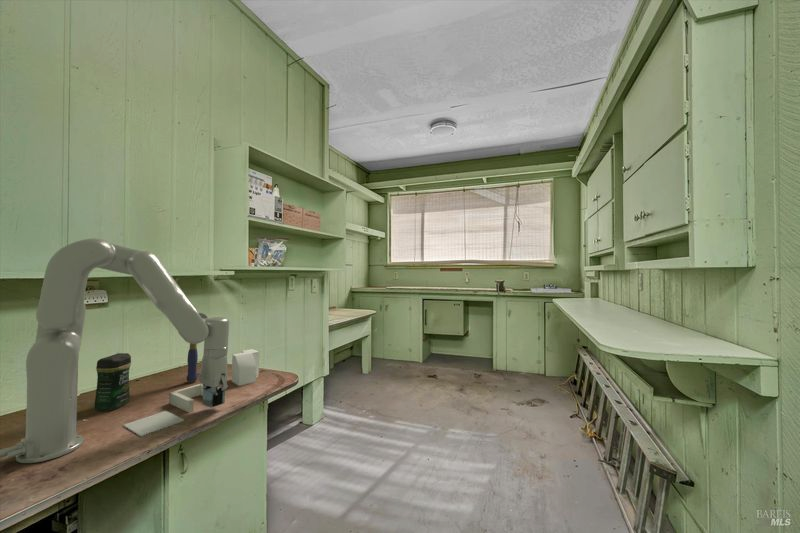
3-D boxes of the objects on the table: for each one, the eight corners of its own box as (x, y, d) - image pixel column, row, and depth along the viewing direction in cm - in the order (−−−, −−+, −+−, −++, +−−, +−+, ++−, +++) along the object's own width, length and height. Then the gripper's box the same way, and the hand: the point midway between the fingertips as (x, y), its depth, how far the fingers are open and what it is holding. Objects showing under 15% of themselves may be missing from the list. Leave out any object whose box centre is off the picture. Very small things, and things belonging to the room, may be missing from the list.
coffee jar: (113, 412, 111) (115, 358, 111) (89, 412, 110) (90, 358, 111) (134, 400, 121) (136, 351, 121) (112, 400, 120) (113, 351, 120)
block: (210, 407, 112) (211, 393, 112) (202, 404, 114) (203, 390, 114) (224, 403, 116) (225, 389, 116) (216, 399, 119) (217, 386, 119)
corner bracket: (251, 373, 154) (252, 349, 154) (263, 379, 146) (264, 353, 146) (228, 379, 146) (229, 353, 146) (239, 386, 138) (239, 358, 138)
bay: (188, 412, 113) (189, 401, 113) (169, 403, 119) (169, 392, 119) (222, 400, 123) (222, 390, 123) (202, 392, 130) (202, 383, 130)
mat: (141, 436, 96) (141, 435, 96) (123, 426, 102) (123, 424, 102) (184, 420, 107) (184, 419, 107) (165, 411, 113) (165, 410, 113)
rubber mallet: (193, 387, 135) (196, 316, 135) (174, 387, 134) (176, 316, 134) (207, 377, 148) (209, 312, 148) (190, 377, 147) (192, 311, 147)
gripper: (191, 350, 116) (188, 400, 116) (219, 358, 108) (216, 413, 107) (212, 346, 123) (209, 394, 122) (240, 354, 114) (237, 405, 114)
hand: (212, 402), depth 115 cm, fingers closed on block, 5 cm apart
